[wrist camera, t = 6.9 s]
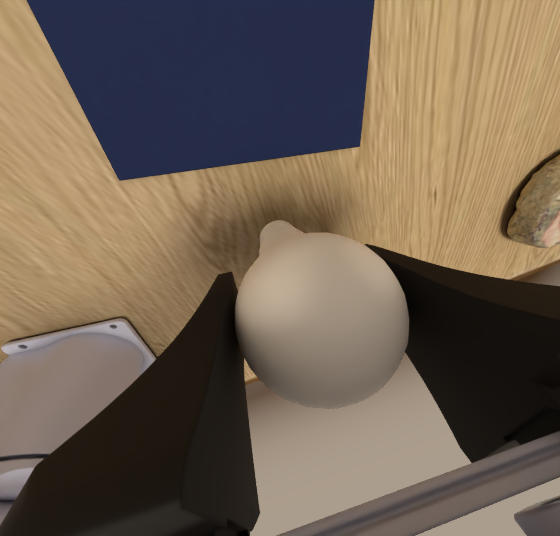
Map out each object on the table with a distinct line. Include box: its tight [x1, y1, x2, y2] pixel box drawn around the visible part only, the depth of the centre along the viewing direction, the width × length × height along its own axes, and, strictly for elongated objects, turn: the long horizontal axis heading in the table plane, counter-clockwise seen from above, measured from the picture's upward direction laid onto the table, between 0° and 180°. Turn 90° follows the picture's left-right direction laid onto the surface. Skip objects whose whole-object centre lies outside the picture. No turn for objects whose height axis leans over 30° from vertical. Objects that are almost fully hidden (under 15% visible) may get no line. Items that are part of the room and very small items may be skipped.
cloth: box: [27, 0, 374, 180], centre depth 11 cm, size 16×9×1 cm, turn 96°
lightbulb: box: [234, 220, 409, 409], centre depth 10 cm, size 6×6×11 cm
